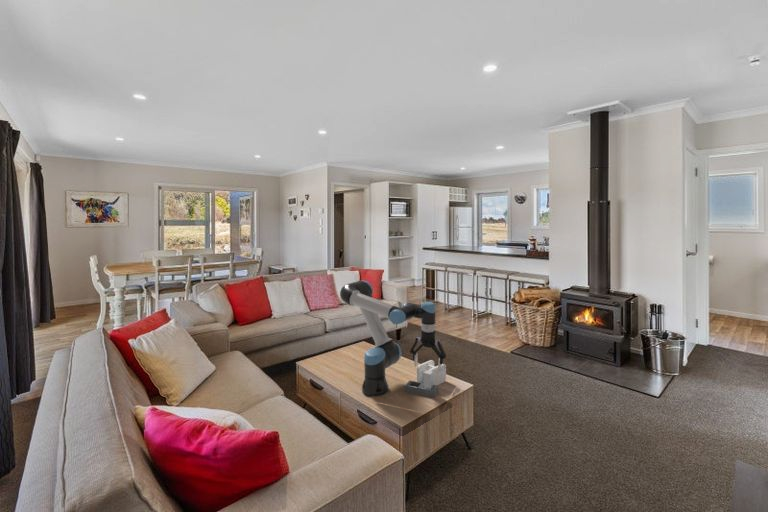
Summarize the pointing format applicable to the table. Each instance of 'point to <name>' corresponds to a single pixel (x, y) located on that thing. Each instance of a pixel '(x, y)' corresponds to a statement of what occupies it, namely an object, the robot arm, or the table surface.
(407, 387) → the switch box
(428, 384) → the plug
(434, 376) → the cable organizer
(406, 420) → the table surface
